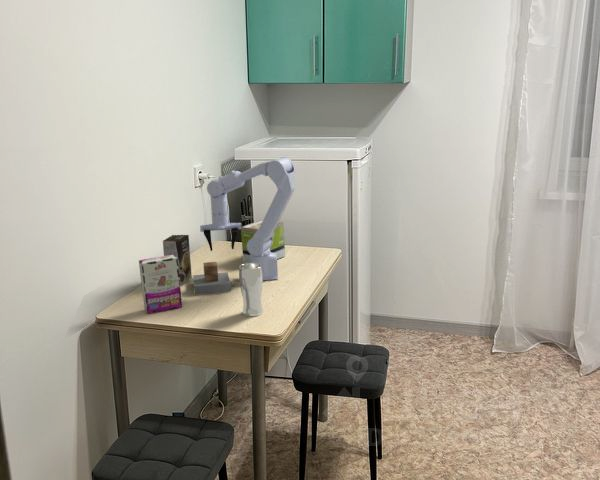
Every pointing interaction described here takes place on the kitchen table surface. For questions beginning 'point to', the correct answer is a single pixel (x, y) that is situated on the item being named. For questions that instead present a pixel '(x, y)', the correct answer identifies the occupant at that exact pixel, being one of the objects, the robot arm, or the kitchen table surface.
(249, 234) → the tea box
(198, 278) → the slate base
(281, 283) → the kitchen table surface
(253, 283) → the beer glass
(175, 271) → the candy bar box
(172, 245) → the coffee box
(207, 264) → the walnut block
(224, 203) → the robot arm
